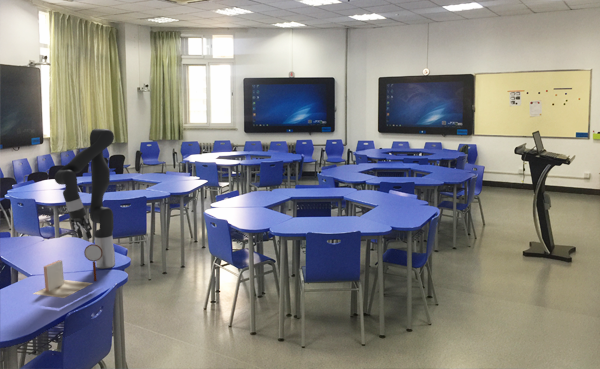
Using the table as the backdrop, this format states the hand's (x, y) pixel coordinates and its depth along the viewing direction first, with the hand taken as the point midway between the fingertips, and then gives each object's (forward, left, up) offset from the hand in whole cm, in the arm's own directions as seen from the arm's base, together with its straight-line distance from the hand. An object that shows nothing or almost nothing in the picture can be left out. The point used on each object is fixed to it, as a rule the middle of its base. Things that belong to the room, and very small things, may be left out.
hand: (85, 237), depth 267 cm
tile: (+20, -4, -20) cm, 28 cm away
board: (+20, +1, -21) cm, 29 cm away
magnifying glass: (+7, +9, -21) cm, 24 cm away
